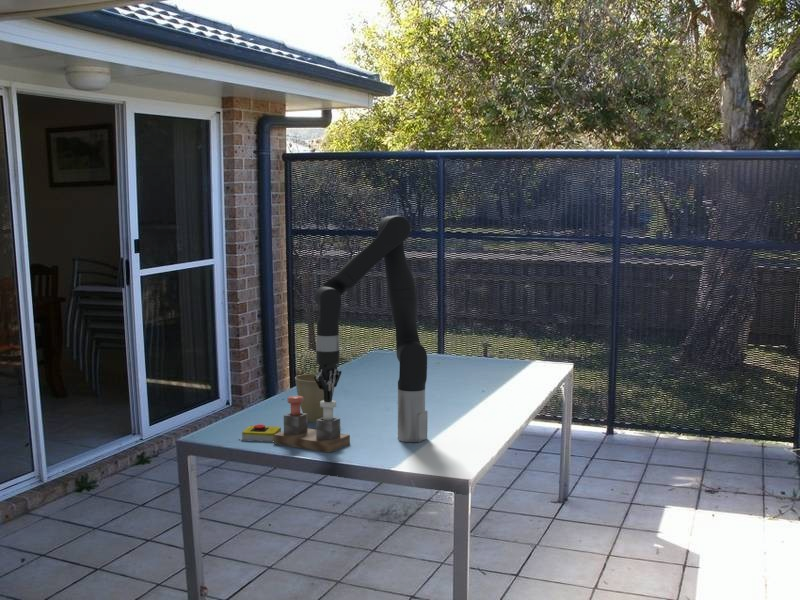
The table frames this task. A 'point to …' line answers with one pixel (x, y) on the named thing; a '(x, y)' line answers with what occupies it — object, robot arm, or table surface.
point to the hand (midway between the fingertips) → (328, 401)
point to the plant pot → (310, 396)
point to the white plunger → (328, 409)
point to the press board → (312, 434)
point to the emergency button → (260, 433)
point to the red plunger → (295, 404)
